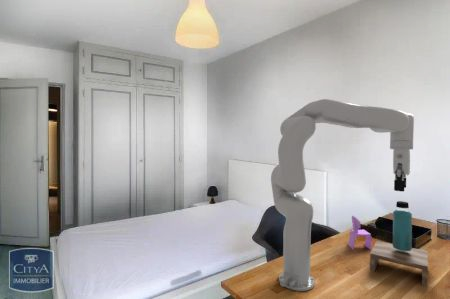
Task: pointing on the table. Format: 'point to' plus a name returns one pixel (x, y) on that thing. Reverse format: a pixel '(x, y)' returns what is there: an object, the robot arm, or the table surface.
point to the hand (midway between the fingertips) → (400, 189)
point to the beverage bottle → (402, 227)
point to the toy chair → (359, 234)
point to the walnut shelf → (400, 258)
